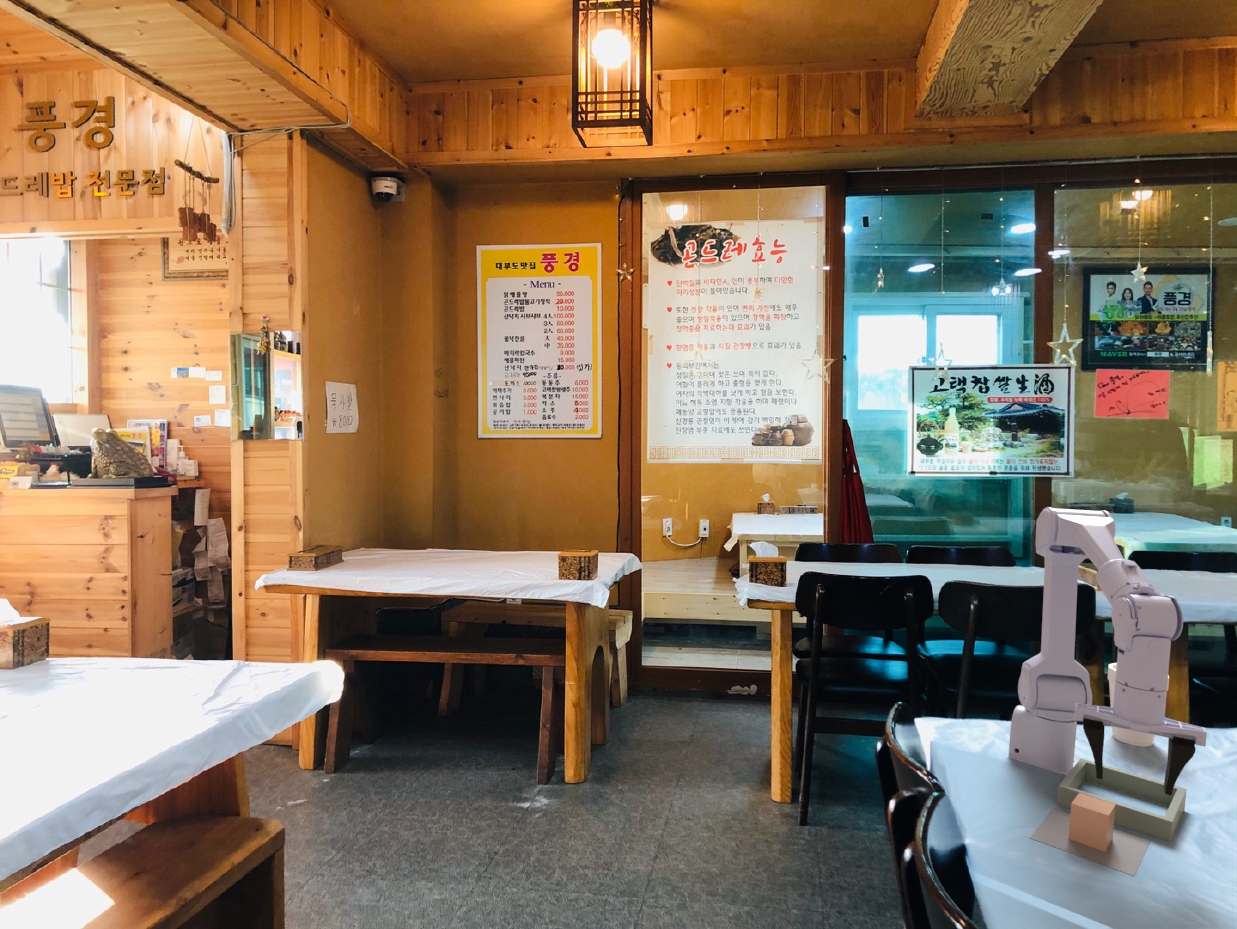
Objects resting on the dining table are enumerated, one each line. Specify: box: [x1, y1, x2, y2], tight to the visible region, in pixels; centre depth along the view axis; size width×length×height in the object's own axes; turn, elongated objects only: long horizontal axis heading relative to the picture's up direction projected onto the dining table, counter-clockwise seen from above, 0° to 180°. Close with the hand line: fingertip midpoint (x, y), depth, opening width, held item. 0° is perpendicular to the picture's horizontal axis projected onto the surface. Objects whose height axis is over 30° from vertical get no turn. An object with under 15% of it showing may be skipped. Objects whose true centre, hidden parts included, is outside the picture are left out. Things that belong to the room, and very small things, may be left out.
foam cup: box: [1107, 662, 1170, 748], centre depth 144 cm, size 10×9×13 cm
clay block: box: [1068, 793, 1116, 852], centre depth 106 cm, size 4×4×5 cm
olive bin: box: [1056, 758, 1187, 842], centre depth 116 cm, size 14×14×4 cm
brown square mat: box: [1029, 807, 1151, 877], centre depth 106 cm, size 12×12×1 cm
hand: (1132, 784), depth 104 cm, fingers open, 7 cm apart
